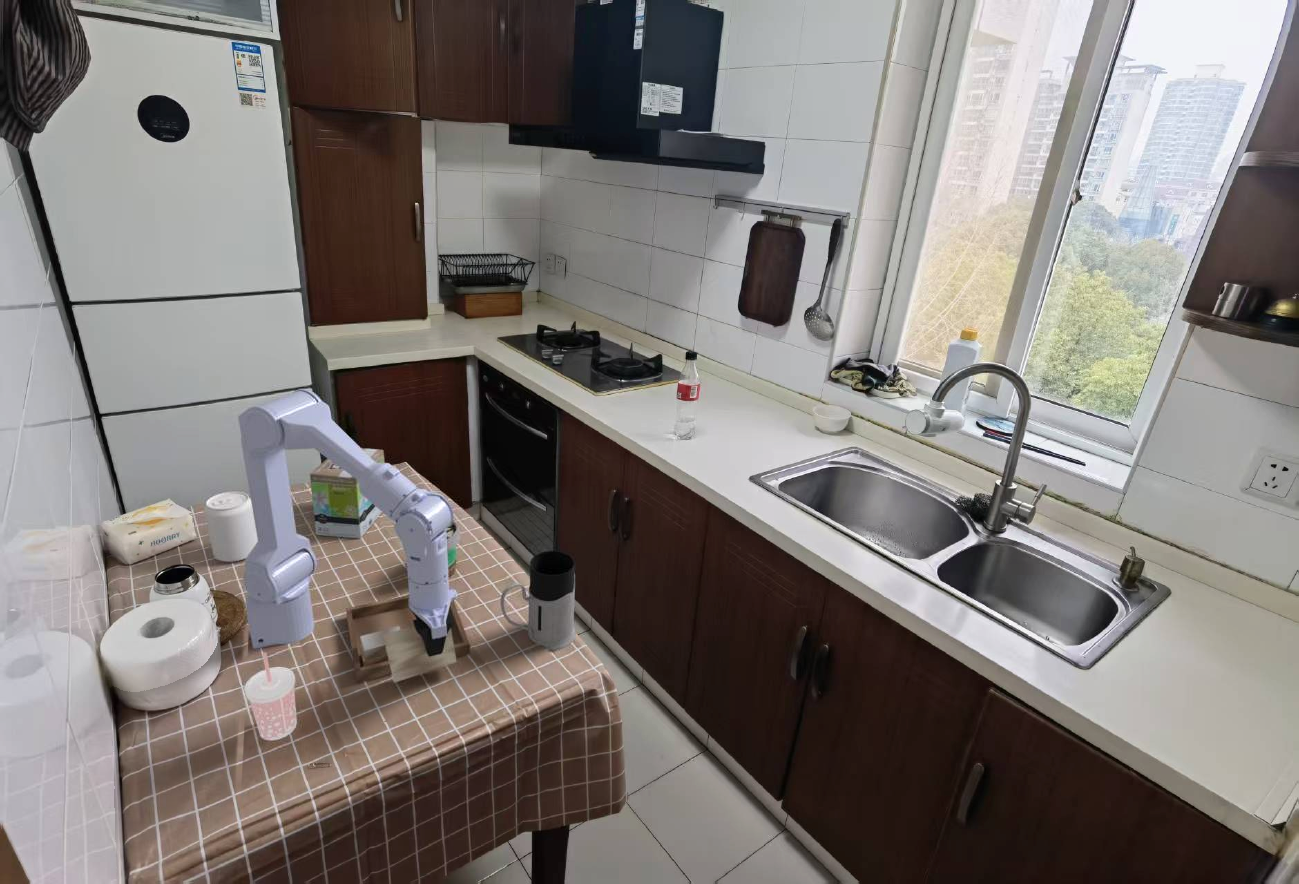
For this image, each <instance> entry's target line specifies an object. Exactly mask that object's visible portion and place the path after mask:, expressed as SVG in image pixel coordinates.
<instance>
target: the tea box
mask: <svg viewBox="0 0 1299 884" xmlns="http://www.w3.org/2000/svg"><path fill="white" fill-rule="evenodd" d="M360 448H361V449H362V450H363V451H364V452H365V453H366V454H367V455H368V456H369V457H370V458H371V459H372V460H373V461H374V462H376V463H385V453H384V450H383V449H379V448H378V449H375V448H363V447H360ZM309 481H310V488H311V499H312V507H313V516H314V527H315V535H317V536H325V537H335V538H336V537H337V538H349V539H350V538H351V539H361V538H362V537H363V535H365V533H366V532H367V531H368V530H369V529H370V527H371V526H373V524H374V522H375V521H376V520H378V518H379V516H380V515H381V514H382V513H383V512H382V511H381V510H380V509H378V508H377V507H376V506H375V505H374V504H372V503H371V502H370V501H369V500H368V499H367V498H365V497H364V496H363V495H362V494H361V493H360V491H359V482H358V480H357V479H356V478H354V477H353V476H352V475H350V474H349V473H347V472H346V471H345V470H343V469H342V468H340V467H339V466H338V465H336V464H335V463H333V462H332V461H331V460H329V459H328V458H326V459H325V460H324V461H323V462H321V464H320V465H318V466H317V467H316V468H315V469H314V470H313V471H311V472H310V473H309Z"/></svg>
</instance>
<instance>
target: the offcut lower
mask: <svg viewBox="0 0 1299 884" xmlns="http://www.w3.org/2000/svg"><path fill="white" fill-rule="evenodd" d="M360 647H361V645H360ZM361 655H362V661H363V667H365V666H370V665H374V664H378V663H382V662H386V661H389V659H388V655H384V656H381V657H377V658H374V659H370V660H367V661H366V660H365V657H364V654H363V650H362V647H361Z"/></svg>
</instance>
